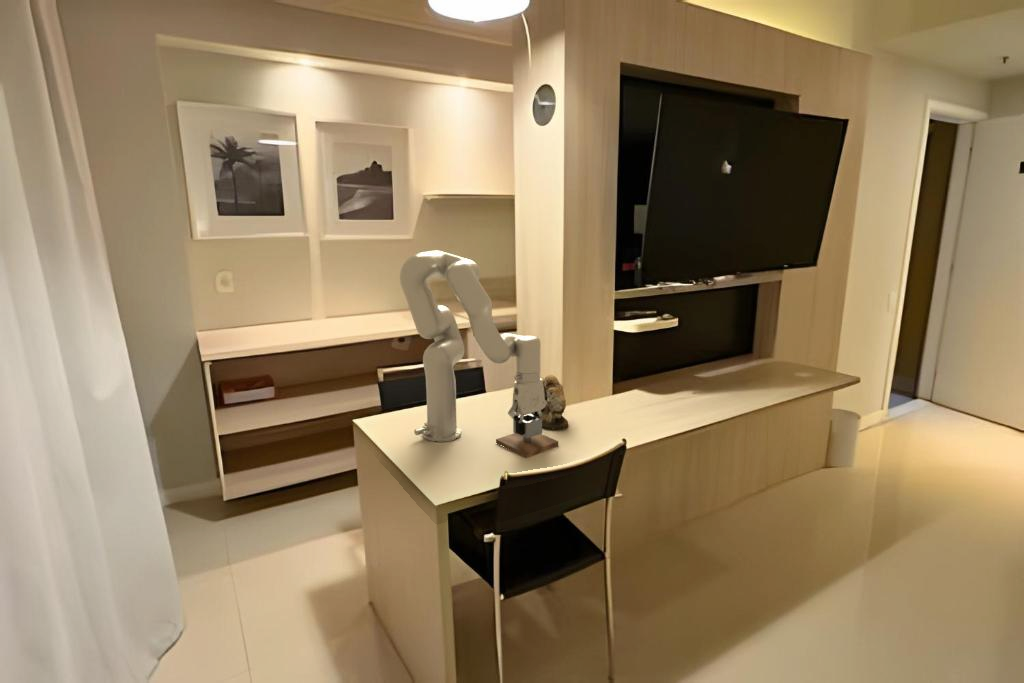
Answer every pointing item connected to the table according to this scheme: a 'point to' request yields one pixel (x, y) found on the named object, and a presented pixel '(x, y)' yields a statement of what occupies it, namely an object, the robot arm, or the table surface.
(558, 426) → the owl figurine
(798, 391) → the table surface
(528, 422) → the collar
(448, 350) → the robot arm
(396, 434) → the table surface
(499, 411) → the table surface
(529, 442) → the post base
